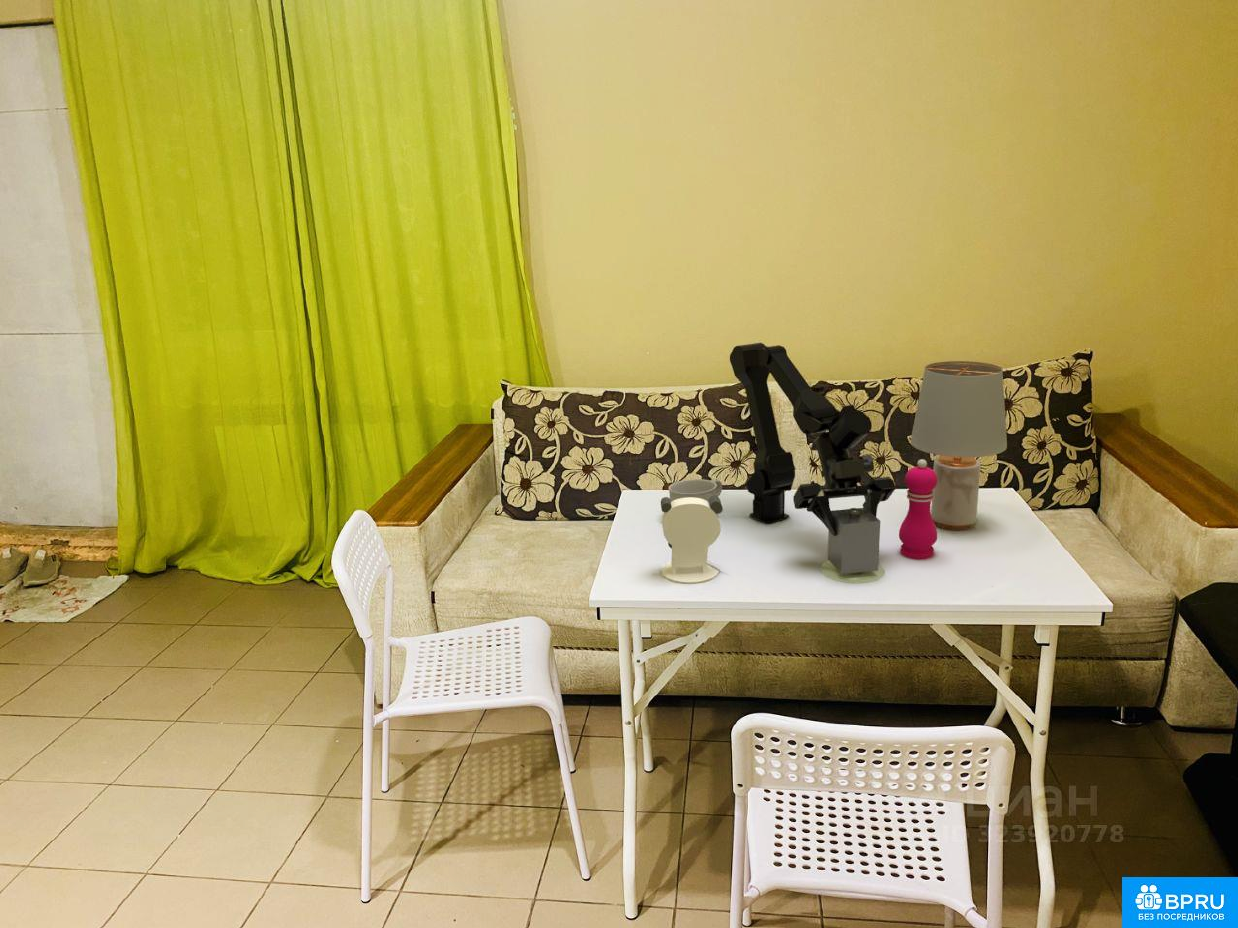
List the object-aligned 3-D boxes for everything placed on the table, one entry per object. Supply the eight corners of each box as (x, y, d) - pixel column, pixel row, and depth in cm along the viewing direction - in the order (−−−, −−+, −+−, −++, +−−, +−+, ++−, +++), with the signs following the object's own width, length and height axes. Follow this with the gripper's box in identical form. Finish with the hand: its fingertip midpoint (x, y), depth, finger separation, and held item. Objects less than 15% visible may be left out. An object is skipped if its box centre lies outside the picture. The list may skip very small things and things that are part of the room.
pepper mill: (936, 550, 186) (942, 455, 180) (935, 564, 180) (942, 466, 174) (898, 547, 188) (903, 453, 182) (896, 561, 182) (901, 464, 176)
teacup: (685, 530, 202) (684, 496, 200) (660, 516, 211) (659, 482, 209) (738, 517, 208) (738, 484, 206) (712, 504, 217) (711, 471, 215)
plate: (852, 555, 185) (852, 552, 185) (898, 575, 176) (898, 572, 175) (807, 570, 180) (807, 567, 179) (852, 591, 170) (852, 588, 170)
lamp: (894, 531, 197) (902, 373, 186) (920, 503, 212) (929, 356, 201) (988, 547, 186) (1001, 381, 176) (1008, 516, 201) (1022, 363, 191)
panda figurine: (719, 558, 187) (718, 488, 182) (725, 582, 176) (725, 508, 172) (659, 561, 187) (657, 490, 183) (662, 584, 176) (660, 511, 172)
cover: (827, 559, 180) (829, 504, 177) (863, 555, 181) (865, 501, 178) (841, 574, 173) (843, 518, 170) (878, 570, 174) (880, 514, 171)
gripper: (799, 444, 174) (817, 520, 167) (894, 436, 176) (916, 511, 169) (785, 471, 183) (802, 544, 176) (875, 463, 186) (896, 535, 179)
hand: (854, 533), depth 175 cm, fingers closed on cover, 7 cm apart
